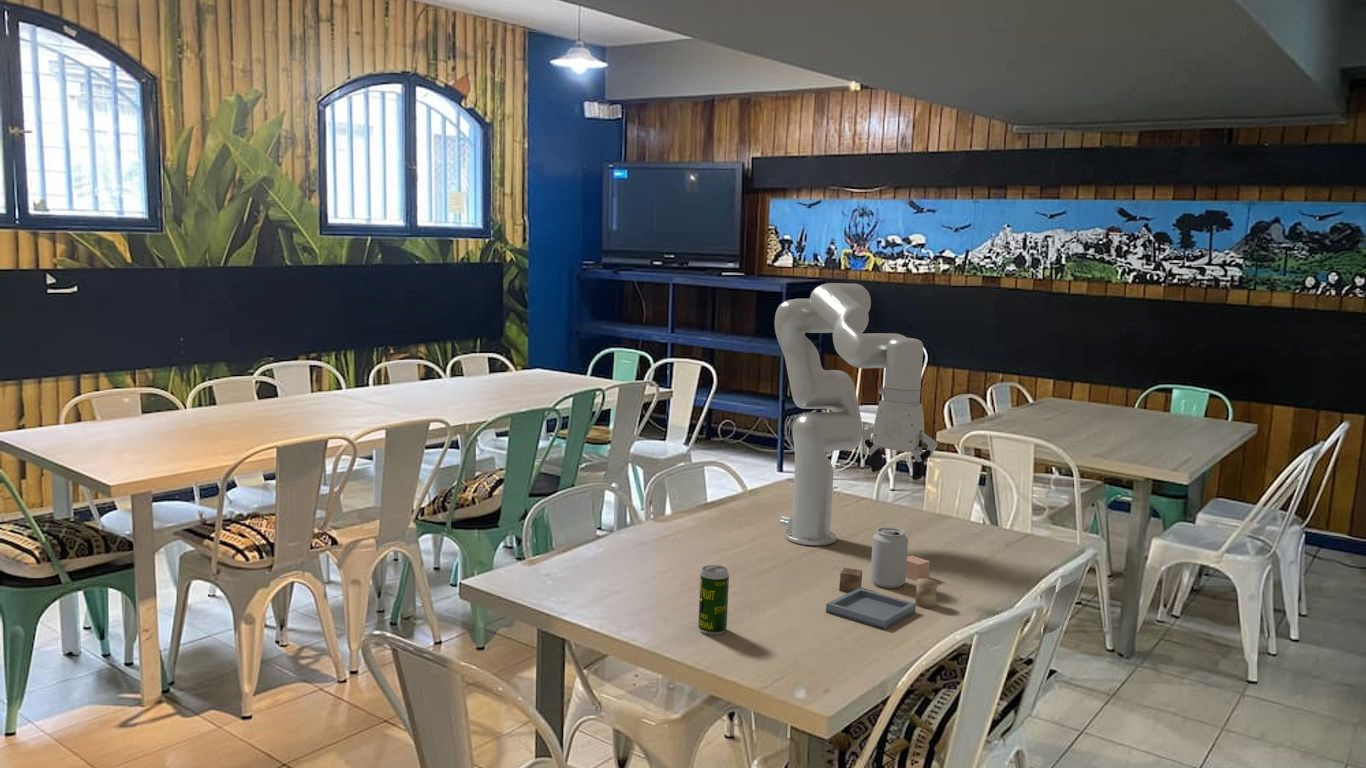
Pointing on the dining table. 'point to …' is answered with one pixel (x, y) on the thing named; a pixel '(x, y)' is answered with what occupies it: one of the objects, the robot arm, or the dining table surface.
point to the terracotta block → (917, 568)
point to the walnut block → (850, 579)
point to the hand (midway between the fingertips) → (896, 474)
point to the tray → (871, 608)
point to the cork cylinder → (926, 593)
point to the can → (889, 557)
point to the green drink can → (713, 600)
